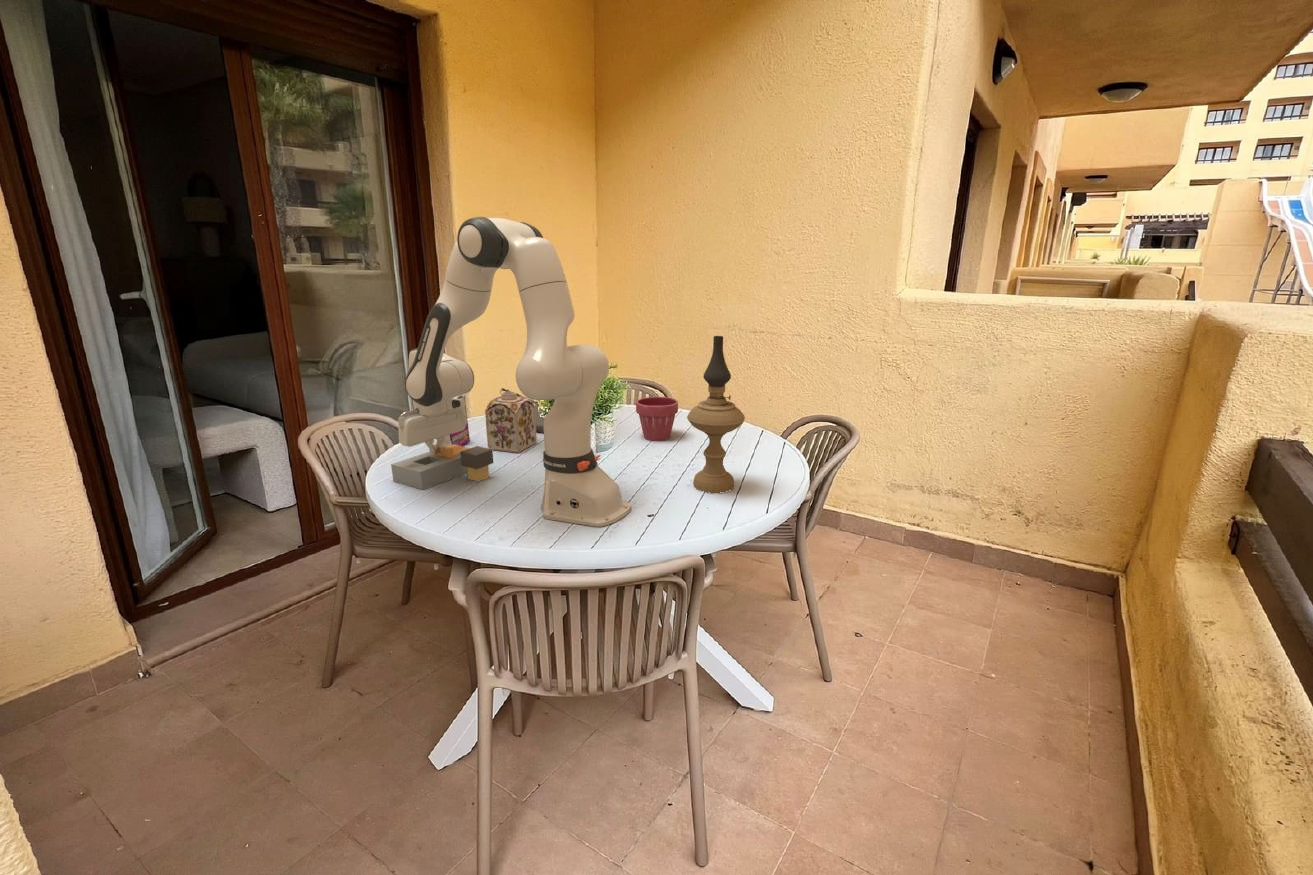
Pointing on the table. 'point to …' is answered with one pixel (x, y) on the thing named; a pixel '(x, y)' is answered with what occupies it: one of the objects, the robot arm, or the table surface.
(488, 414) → the decorative jar
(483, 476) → the plug
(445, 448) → the panel
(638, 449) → the table surface
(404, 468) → the socket block
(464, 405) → the candy bar box
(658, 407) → the plant pot
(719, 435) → the oil lamp
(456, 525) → the table surface
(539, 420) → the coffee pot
